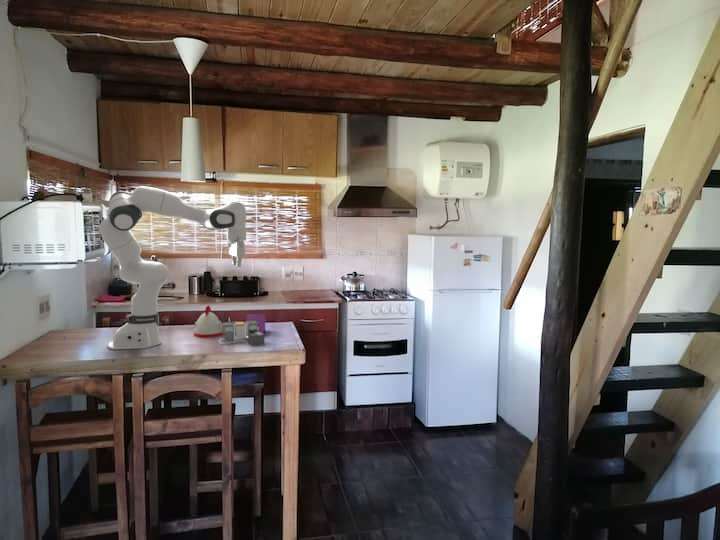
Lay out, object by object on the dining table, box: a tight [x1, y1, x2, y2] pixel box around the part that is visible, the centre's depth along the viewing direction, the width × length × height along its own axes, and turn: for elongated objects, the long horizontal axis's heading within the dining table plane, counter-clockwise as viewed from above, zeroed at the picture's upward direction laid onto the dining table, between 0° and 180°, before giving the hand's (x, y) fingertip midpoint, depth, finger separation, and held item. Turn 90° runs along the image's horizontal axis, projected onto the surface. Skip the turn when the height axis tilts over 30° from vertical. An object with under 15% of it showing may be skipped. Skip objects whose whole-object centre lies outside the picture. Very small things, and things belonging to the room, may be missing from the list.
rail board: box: [217, 320, 258, 345], centre depth 234 cm, size 20×7×9 cm, turn 116°
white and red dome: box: [193, 305, 222, 339], centre depth 246 cm, size 14×14×15 cm
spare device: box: [247, 332, 265, 347], centre depth 229 cm, size 6×5×5 cm
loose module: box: [233, 321, 246, 339], centre depth 234 cm, size 5×4×7 cm
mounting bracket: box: [246, 313, 266, 335], centre depth 250 cm, size 9×8×18 cm
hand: (236, 265), depth 228 cm, fingers open, 8 cm apart
